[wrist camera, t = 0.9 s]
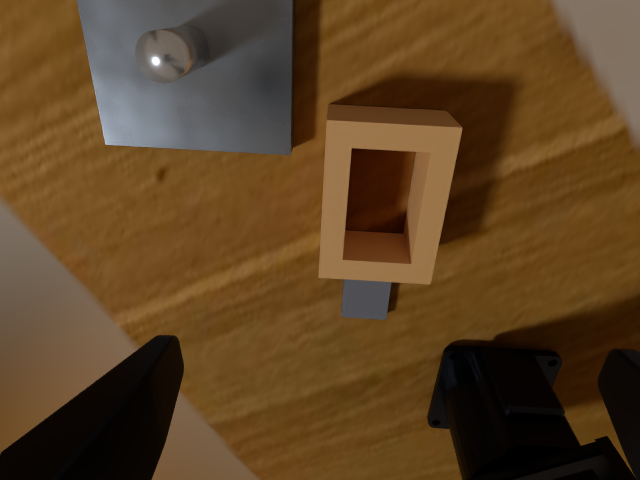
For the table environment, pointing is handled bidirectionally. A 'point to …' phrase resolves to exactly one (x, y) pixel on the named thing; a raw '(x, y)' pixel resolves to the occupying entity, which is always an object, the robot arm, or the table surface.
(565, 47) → the table surface
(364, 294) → the grey rectangular block
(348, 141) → the link
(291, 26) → the plate
